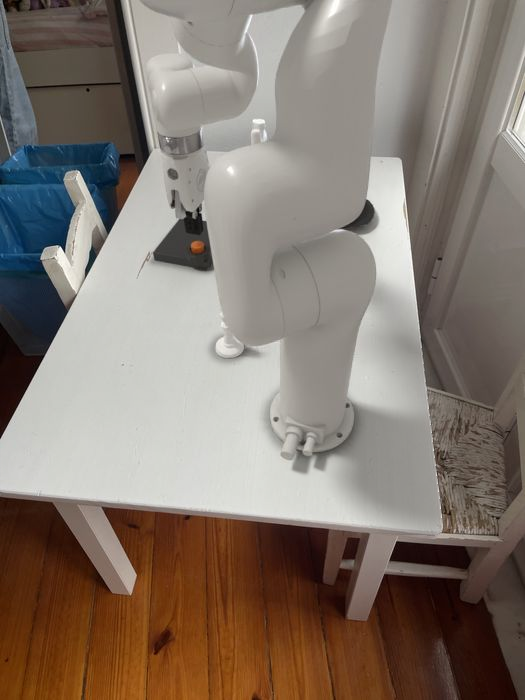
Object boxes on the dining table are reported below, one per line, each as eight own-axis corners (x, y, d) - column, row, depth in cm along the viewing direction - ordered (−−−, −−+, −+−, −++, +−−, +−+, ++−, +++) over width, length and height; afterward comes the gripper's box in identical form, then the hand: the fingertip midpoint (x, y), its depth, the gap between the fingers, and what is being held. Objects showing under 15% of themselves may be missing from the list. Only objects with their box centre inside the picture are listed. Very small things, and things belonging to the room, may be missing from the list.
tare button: (201, 254, 97) (200, 249, 96) (189, 252, 98) (188, 247, 97) (206, 247, 99) (205, 241, 98) (194, 245, 99) (193, 240, 98)
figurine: (277, 172, 126) (276, 112, 115) (271, 190, 120) (270, 129, 109) (249, 171, 127) (246, 111, 116) (243, 189, 121) (239, 128, 110)
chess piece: (212, 341, 85) (206, 298, 78) (239, 334, 86) (235, 291, 78) (219, 361, 82) (213, 318, 74) (247, 354, 83) (244, 310, 75)
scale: (207, 272, 98) (205, 258, 96) (152, 263, 101) (149, 249, 98) (232, 233, 108) (231, 219, 105) (182, 225, 110) (179, 211, 108)
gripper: (183, 162, 76) (197, 257, 90) (217, 123, 86) (226, 214, 99) (140, 156, 78) (161, 250, 91) (179, 119, 87) (192, 209, 101)
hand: (194, 231), depth 95 cm, fingers closed
